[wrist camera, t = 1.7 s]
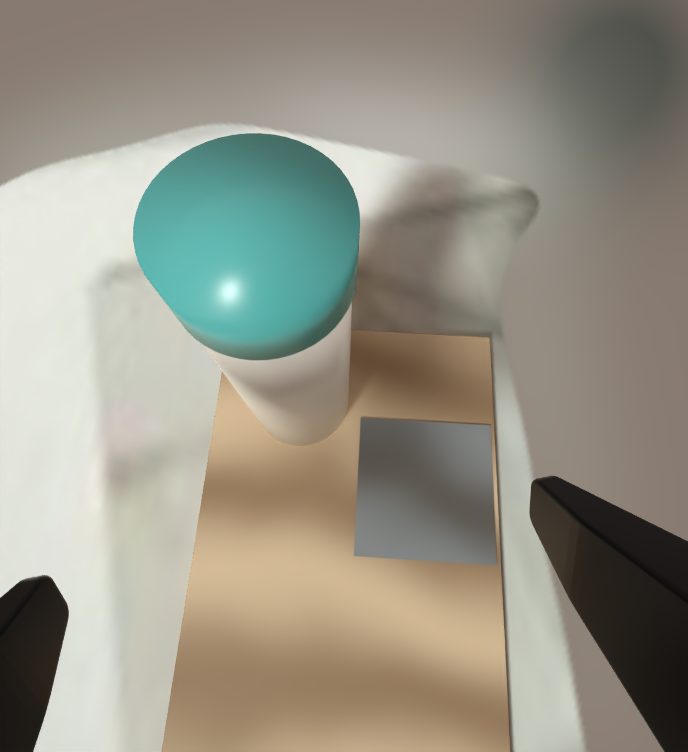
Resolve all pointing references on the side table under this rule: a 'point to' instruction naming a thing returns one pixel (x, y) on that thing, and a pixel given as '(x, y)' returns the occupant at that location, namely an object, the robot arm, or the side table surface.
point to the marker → (260, 272)
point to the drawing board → (352, 569)
